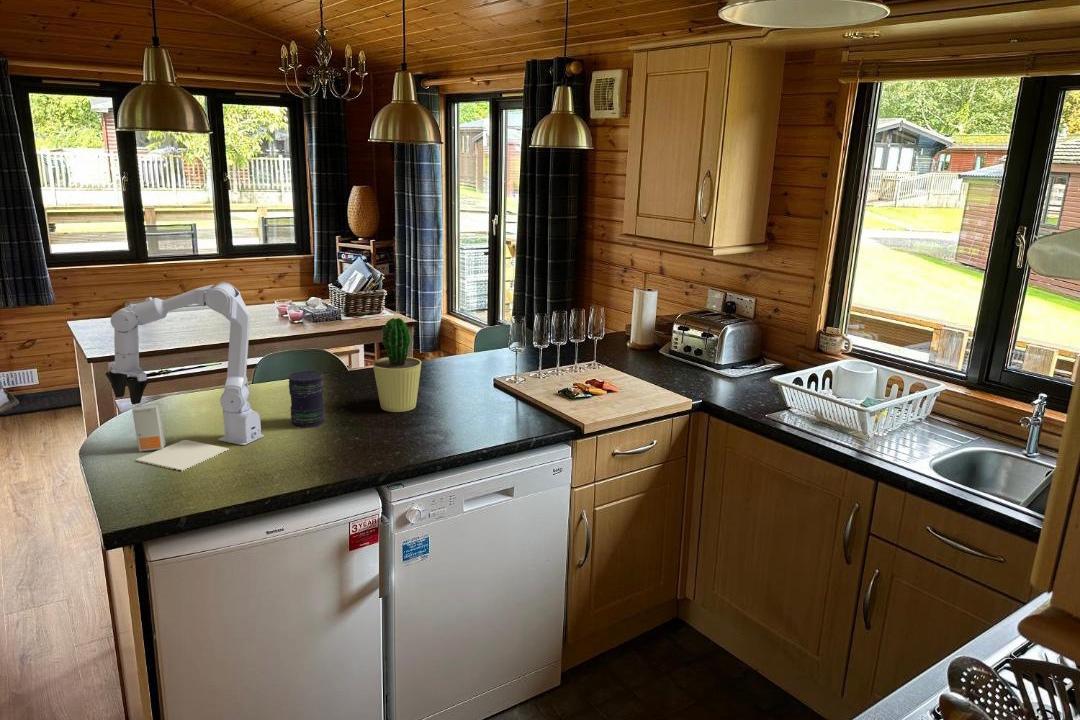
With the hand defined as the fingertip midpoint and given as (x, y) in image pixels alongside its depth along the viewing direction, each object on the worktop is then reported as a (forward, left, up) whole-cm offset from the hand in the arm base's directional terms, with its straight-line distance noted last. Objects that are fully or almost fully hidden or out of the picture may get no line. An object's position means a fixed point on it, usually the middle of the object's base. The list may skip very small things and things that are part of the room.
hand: (127, 400), depth 205 cm
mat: (-20, +1, -13) cm, 23 cm away
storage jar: (-33, -34, -13) cm, 49 cm away
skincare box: (-9, +1, -12) cm, 15 cm away
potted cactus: (-49, -59, -13) cm, 77 cm away
